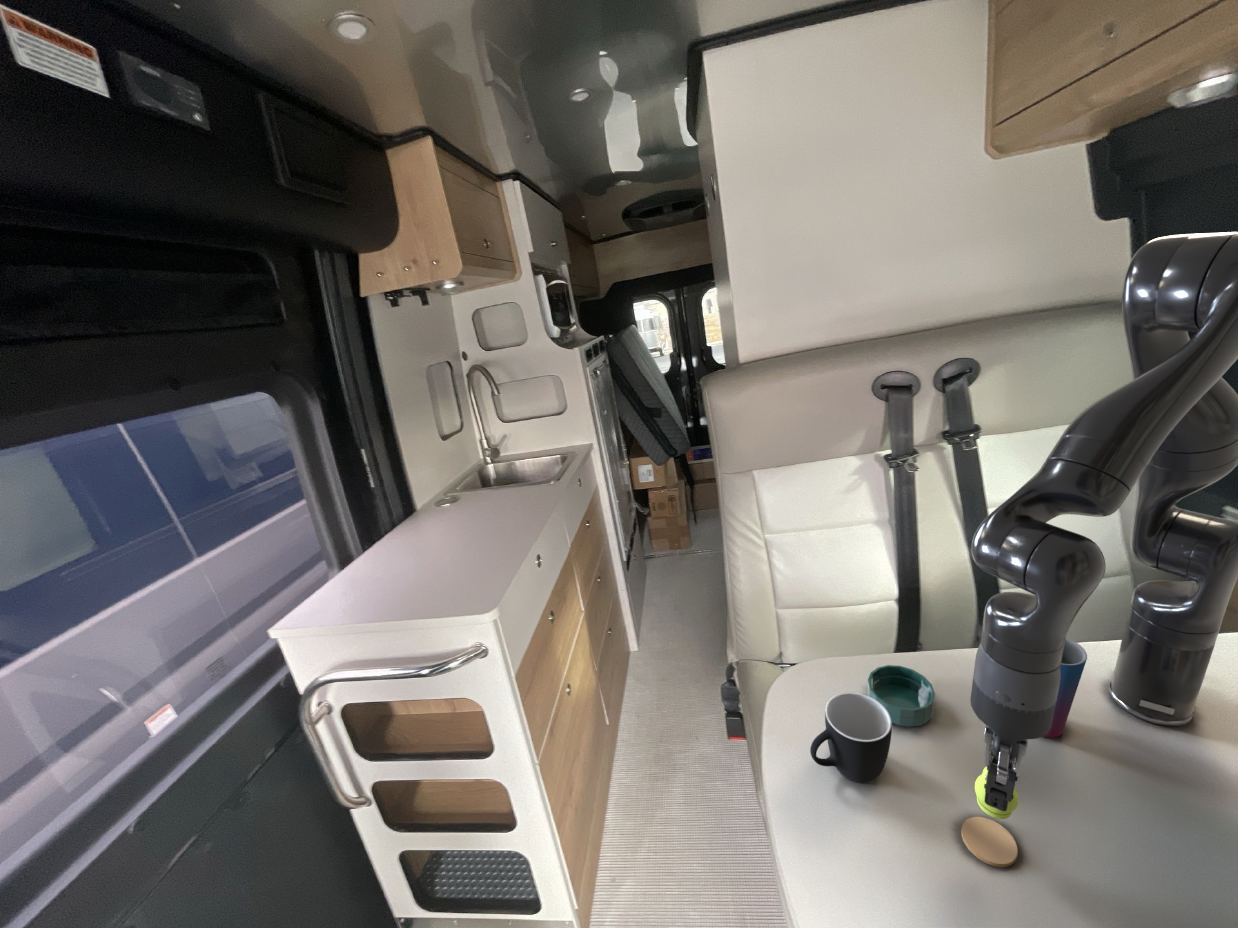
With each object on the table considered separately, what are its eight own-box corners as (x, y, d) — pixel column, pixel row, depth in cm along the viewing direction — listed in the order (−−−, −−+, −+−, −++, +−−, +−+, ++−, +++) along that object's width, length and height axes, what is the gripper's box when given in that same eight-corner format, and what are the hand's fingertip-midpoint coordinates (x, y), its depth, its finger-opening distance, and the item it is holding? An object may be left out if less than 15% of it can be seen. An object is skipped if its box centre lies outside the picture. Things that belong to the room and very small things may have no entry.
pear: (975, 782, 69) (980, 740, 66) (1017, 799, 67) (1024, 755, 64) (971, 810, 66) (976, 767, 63) (1014, 829, 63) (1022, 785, 61)
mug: (865, 733, 86) (866, 685, 82) (903, 781, 78) (906, 731, 74) (796, 753, 85) (795, 706, 81) (828, 805, 76) (827, 755, 73)
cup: (1080, 744, 79) (1098, 665, 74) (1028, 741, 81) (1041, 664, 75) (1055, 707, 85) (1070, 632, 80) (1007, 705, 87) (1018, 632, 81)
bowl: (875, 675, 97) (876, 658, 95) (937, 695, 91) (939, 677, 89) (861, 713, 90) (861, 695, 88) (927, 737, 84) (928, 719, 82)
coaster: (964, 811, 73) (964, 808, 73) (1018, 834, 69) (1019, 831, 69) (958, 850, 69) (958, 847, 68) (1015, 876, 65) (1016, 873, 65)
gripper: (1057, 744, 52) (1033, 858, 58) (1057, 653, 62) (1037, 758, 68) (966, 714, 56) (953, 823, 63) (980, 633, 66) (968, 734, 73)
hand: (997, 788), depth 65 cm, fingers closed on pear, 4 cm apart
